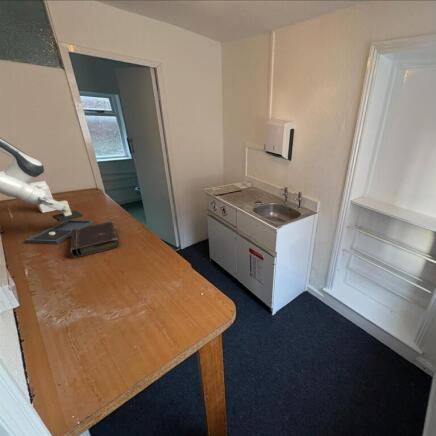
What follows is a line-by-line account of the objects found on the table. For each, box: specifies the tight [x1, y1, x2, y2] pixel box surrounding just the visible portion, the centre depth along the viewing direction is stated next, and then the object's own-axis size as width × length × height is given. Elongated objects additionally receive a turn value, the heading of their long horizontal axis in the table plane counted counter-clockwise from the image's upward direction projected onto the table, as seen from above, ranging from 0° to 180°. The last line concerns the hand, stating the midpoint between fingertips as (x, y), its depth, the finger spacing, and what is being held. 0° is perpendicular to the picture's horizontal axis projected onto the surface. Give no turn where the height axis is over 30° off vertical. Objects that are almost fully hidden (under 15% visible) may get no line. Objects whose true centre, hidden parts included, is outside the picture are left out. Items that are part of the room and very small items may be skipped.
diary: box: [69, 221, 120, 259], centre depth 118 cm, size 19×25×5 cm
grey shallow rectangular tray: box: [24, 219, 96, 245], centre depth 127 cm, size 15×25×2 cm, turn 1°
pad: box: [34, 230, 71, 240], centre depth 121 cm, size 10×10×2 cm
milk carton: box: [28, 180, 57, 214], centre depth 149 cm, size 7×7×19 cm
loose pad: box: [52, 199, 84, 223], centre depth 128 cm, size 10×10×9 cm
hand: (66, 208), depth 128 cm, fingers closed on loose pad, 3 cm apart
